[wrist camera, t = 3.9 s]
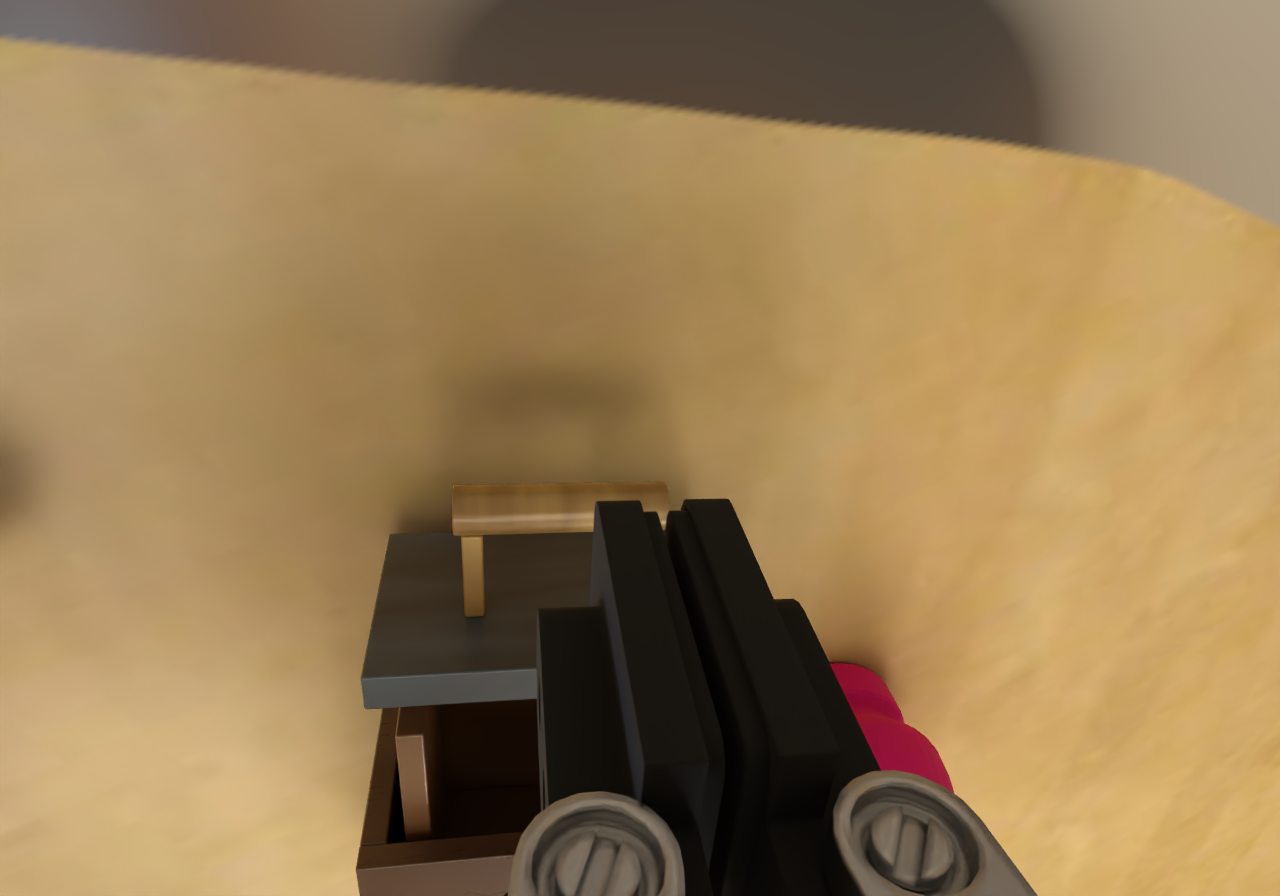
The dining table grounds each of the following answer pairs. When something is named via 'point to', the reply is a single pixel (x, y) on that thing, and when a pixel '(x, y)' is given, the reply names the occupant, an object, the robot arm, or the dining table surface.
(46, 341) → the dining table surface
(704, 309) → the dining table surface
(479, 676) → the drawer
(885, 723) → the pepper mill
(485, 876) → the cabinet
